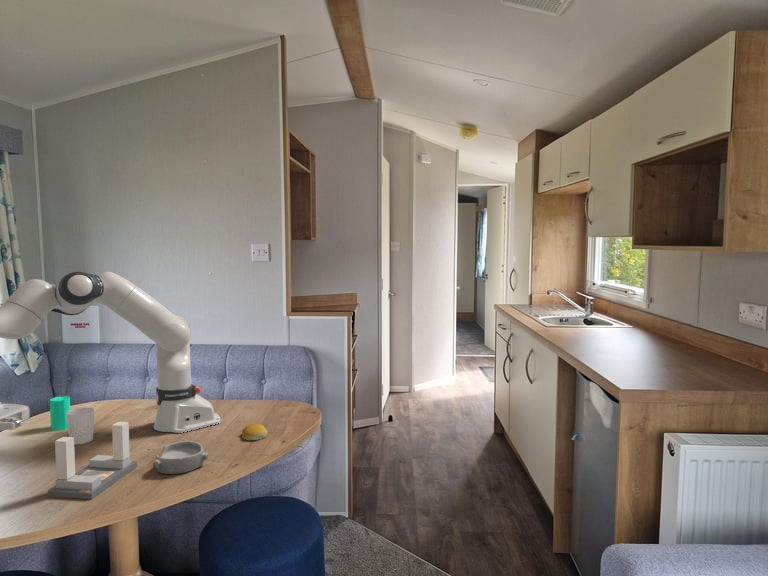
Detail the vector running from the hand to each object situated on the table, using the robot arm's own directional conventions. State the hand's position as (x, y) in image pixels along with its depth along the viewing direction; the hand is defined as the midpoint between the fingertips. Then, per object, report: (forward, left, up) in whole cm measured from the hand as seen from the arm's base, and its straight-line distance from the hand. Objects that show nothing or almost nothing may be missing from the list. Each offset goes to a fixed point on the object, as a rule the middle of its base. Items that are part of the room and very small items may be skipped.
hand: (17, 424), depth 137 cm
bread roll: (-65, -4, -17) cm, 67 cm away
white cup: (-16, -29, -17) cm, 38 cm away
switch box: (-17, +6, -17) cm, 25 cm away
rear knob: (-24, +3, -13) cm, 27 cm away
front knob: (-10, +8, -13) cm, 19 cm away
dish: (-39, +8, -17) cm, 43 cm away
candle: (-11, -47, -17) cm, 52 cm away
